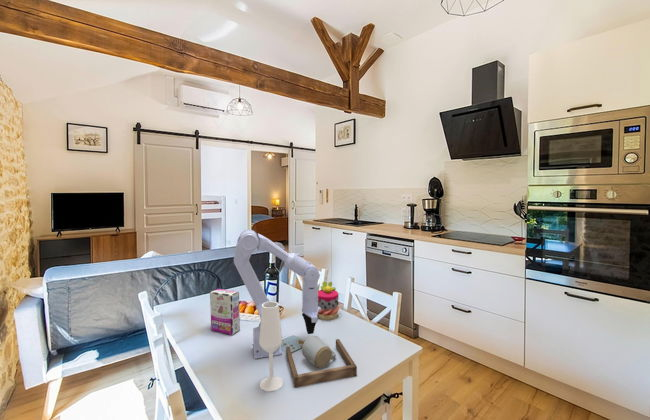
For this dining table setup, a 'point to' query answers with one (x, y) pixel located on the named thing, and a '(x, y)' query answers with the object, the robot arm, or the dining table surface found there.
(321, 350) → the ceramic mug
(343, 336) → the dining table surface
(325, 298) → the cake
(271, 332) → the champagne flute
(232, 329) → the candy bar box
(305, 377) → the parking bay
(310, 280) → the robot arm
